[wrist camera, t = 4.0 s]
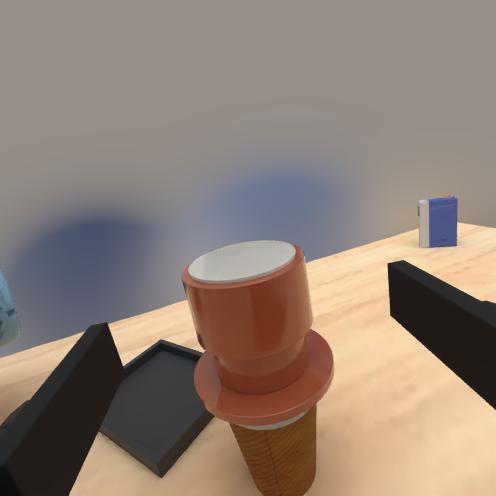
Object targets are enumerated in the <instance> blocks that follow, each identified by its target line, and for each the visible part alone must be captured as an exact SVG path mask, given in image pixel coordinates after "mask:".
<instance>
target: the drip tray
mask: <svg viewBox="0 0 496 496" xmlns="http://www.w3.org/2000/svg"><path fill="white" fill-rule="evenodd" d="M202 355H203V353H202V352H199V351H196V350H193V349H190V348H186V347H183V346H180V345H177V344H174V343H171V342H168V341H165V340H162V339H161V340H159V341H158V342H156V343H155V344H154V345H152V346H151V347H150V348H148V349H147V350H145V351H144V352H143V353H141V354H140V355H138V356H137V357H136V358H134V359H133V360H132V361H130V362H129V363H127V364H126V365H125V366H123V368H124V370H125V374H124V377H123V379H122V381H121V383H120V385H119V387H118V390H117V392H116V394H115V396H114V398H113V400H112V403H111V405H110V407H109V409H108V411H107V413H106V416H105V418H104V420H103V422H102V424H101V427H100V429H99V431H100V432H102V433H103V434H104V435H106V436H107V437H108V438H109V439H111V440H112V441H113V442H115V443H116V444H117V445H119V446H120V447H121V448H123V449H124V450H125V451H127V452H128V453H129V454H131V455H132V456H133V457H135V458H136V459H137V460H139V461H140V462H141V463H142V464H144V465H145V466H146V467H148V468H149V469H150V470H152V471H153V472H154V473H156V474H157V475H158V476H160V477H161V478H162V477H163V476H164V474H165V473H166V472H167V471H168V470H169V469H170V467H171V466H172V465H173V464H174V463H175V461H176V460H177V459H178V458H179V457H180V456H181V454H182V453H183V452H184V451H185V450H186V449H187V447H188V446H189V445H190V444H191V443H192V442H193V440H194V439H195V438H196V437H197V436H198V435H199V433H200V432H201V431H202V430H203V429H204V427H205V426H206V425H207V424H208V423H209V422H210V420H211V419H212V418H213V417H214V415H213V414H212V413H210V412H209V411H208V410H207V409H206V408H205V407H204V406H203V405H202V403H201V402H200V400H199V398H198V395H197V392H196V389H195V384H194V373H195V368H196V366H197V363H198V361H199V359H200V357H201V356H202Z"/></svg>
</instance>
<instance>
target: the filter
mask: <svg viewBox="0 0 496 496" xmlns="http://www.w3.org/2000/svg"><path fill="white" fill-rule="evenodd" d="M304 256H305V255H304V252H303V250H302V249H301V248H300V247H298V246H297V245H294V244H290V243H286V242H282V241H273V240H263V241H262V240H261V241H250V242H244V243H238V244H234V245H230V246H226V247H223V248H220V249H217V250H214V251H211V252H209V253H207V254H205V255H203V256H201V257H199V258H198V259H196V260H195V261H194V262H192V263H191V264H190V265H188V266H187V267H186V268H185V269H184V271H183V272H182V276H181V277H182V281H183V285H184V289H185V293H186V296H187V300H188V304H189V308H190V311H191V315H192V319H193V323H194V326H195V330H196V334H197V338H198V341H199V343H200V345H201V346H202V348H203V349H204V350H206V351H205V352H204V353H203V355H202V356H201V357H200V359H199V361H198V363H197V366H196V368H195V373H194V384H195V389H196V392H197V395H198V398H199V400H200V402H201V403H202V405H203V406H204V407H205V408H206V409H207V410H208V411H209V412H210V413H212V414H213V415H214V416H216V417H218V418H220V419H222V420H224V421H227V422H230V423H233V424H238V425H245V426H264V425H270V424H276V423H279V422H283V421H286V420H289V419H291V418H294V417H296V416H298V415H300V414H302V413H304V412H305V411H307V410H308V409H310V408H311V407H313V406H314V405H315V404H316V403H317V402H318V401H319V400H320V399H321V398H322V397H323V396H324V394H325V393H326V392H327V390H328V388H329V387H330V385H331V382H332V379H333V375H334V360H333V354H332V351H331V348H330V346H329V345H328V343H327V342H326V340H325V339H324V338H323V337H322V336H321V335H319V334H318V333H317V332H315V331H313V330H311V329H310V328H311V325H312V322H313V314H312V307H311V300H310V292H309V285H308V277H307V270H306V263H305V257H304Z"/></svg>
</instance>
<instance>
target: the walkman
mask: <svg viewBox="0 0 496 496" xmlns="http://www.w3.org/2000/svg"><path fill="white" fill-rule="evenodd" d="M418 216H419V246H420V248H428V247H443V246H457V198H455V197H450V196H445V197H444V198H437V199H429V200H420V201H419V206H418Z"/></svg>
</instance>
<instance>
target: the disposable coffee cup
mask: <svg viewBox="0 0 496 496" xmlns="http://www.w3.org/2000/svg"><path fill="white" fill-rule="evenodd" d="M229 423H230V422H229ZM230 426H231V428H232V430H233V433H234V434H235V437H236V439H237V442H238V444H239V447H240V449H241V451H242V453H243V456H244V458H245V460H246V462H247V465H248V467H249V470H250V472H251V475H252V477H253V479H254V482H255V484H256V486H257V488H258V489H259V490H260V491H261V492H262V493H263V494H264V495H265V496H302V495H303V494H305V493H306V492H307V491H308V489H309V488H310V487H311V485H312V483H313V481H314V478H315V473H316V404H315V405H314V406H313V407H311V408H310V409H308V410H307V411H305V412H304V413H302V414H300V415H298V416H296V417H294V418H291V419H289V420H286V421H283V422H279V423H276V424H270V425H264V426H245V425H238V424H233V423H230Z"/></svg>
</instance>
